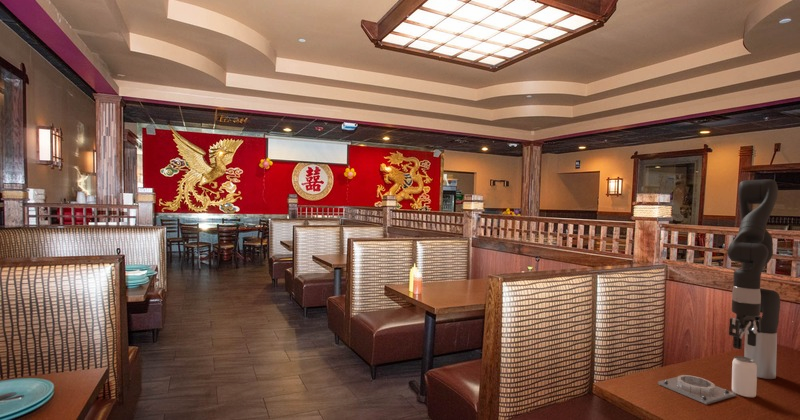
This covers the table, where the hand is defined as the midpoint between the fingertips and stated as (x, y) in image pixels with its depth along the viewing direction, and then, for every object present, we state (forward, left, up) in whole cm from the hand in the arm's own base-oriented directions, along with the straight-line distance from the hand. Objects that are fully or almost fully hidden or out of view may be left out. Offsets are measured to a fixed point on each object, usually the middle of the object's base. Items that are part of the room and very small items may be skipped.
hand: (744, 346), depth 139 cm
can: (0, 0, -16) cm, 16 cm away
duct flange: (+13, -8, -16) cm, 22 cm away
